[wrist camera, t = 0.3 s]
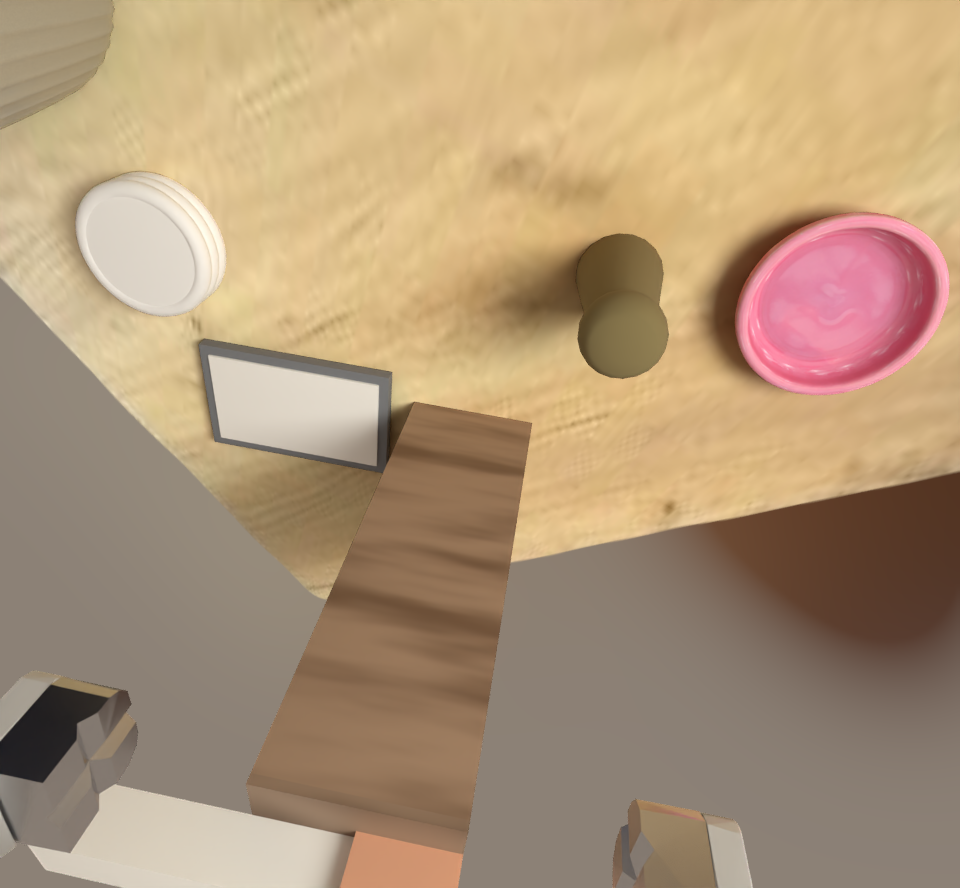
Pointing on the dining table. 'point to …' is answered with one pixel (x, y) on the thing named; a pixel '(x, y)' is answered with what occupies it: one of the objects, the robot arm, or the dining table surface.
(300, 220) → the dining table surface
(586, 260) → the olive game pawn
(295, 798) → the walnut stand
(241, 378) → the writing board
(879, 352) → the saucer
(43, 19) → the canister
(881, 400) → the dining table surface
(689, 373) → the dining table surface
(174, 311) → the coaster
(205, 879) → the marker
